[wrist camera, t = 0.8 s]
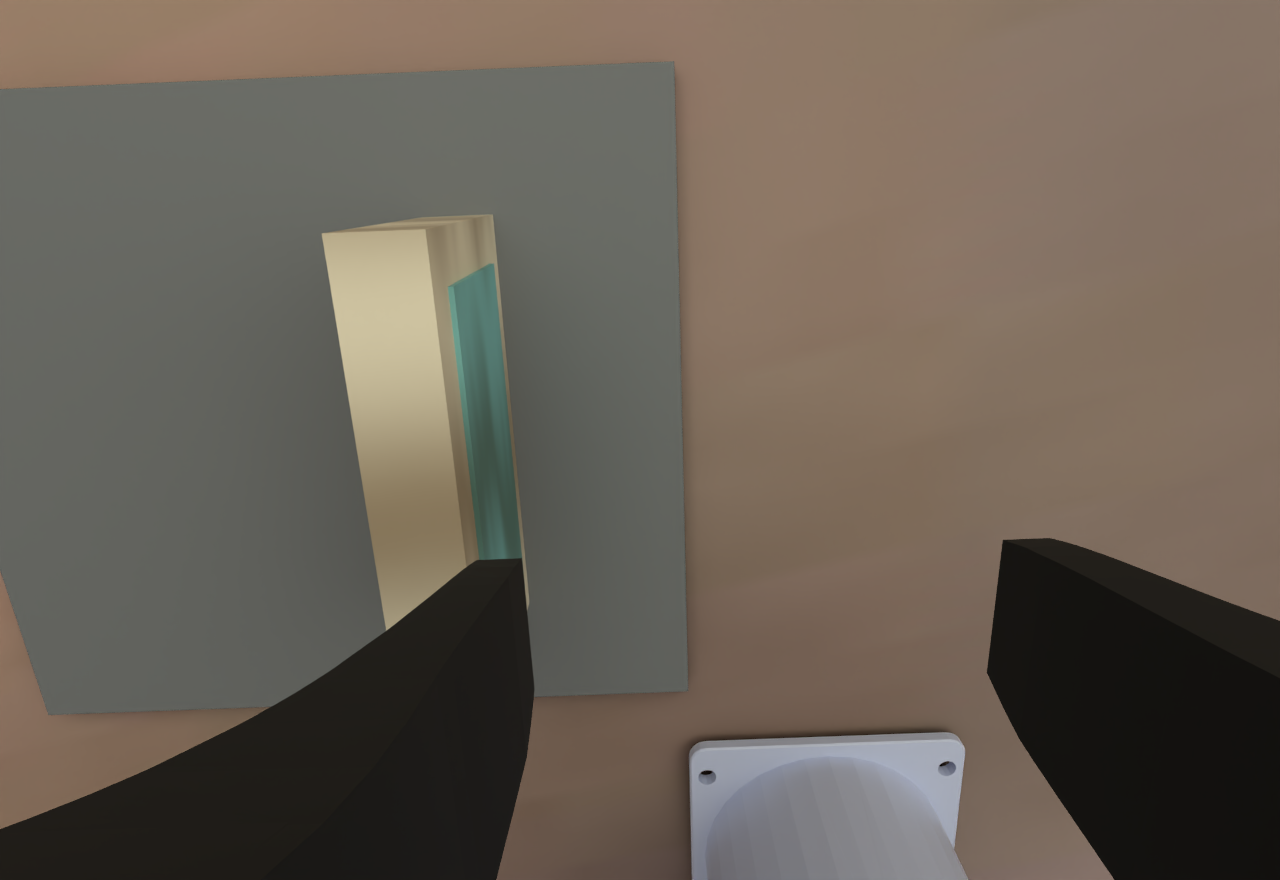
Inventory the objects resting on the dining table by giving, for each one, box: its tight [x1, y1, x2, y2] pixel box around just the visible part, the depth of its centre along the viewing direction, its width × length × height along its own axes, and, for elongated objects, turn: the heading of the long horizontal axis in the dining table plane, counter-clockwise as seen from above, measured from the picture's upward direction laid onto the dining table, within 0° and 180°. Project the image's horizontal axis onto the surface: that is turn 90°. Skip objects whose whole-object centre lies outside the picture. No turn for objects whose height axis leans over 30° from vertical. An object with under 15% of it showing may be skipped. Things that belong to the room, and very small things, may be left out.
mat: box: [0, 61, 688, 715], centre depth 19 cm, size 16×18×1 cm
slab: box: [322, 214, 529, 630], centre depth 16 cm, size 10×2×6 cm, turn 2°
